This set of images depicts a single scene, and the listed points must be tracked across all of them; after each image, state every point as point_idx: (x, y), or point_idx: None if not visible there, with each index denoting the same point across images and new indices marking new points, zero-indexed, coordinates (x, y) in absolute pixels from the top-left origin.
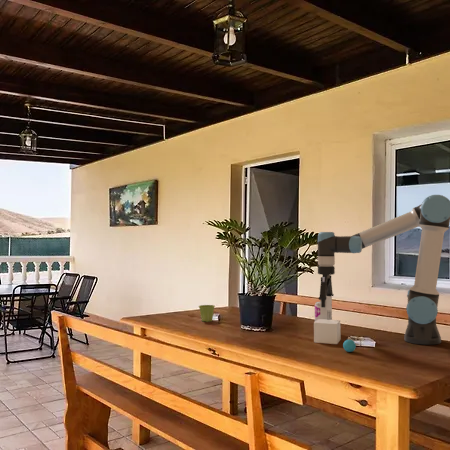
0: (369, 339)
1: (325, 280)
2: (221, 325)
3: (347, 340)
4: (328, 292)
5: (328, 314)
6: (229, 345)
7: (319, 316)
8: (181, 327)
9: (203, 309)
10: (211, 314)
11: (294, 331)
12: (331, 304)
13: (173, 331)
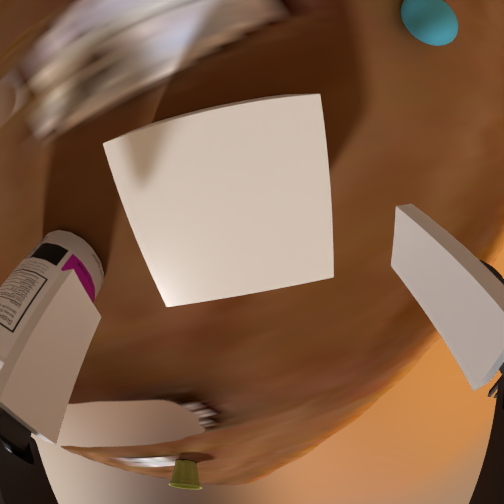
0: (76, 16)
1: None
2: (205, 449)
3: (455, 25)
4: (25, 478)
5: (27, 296)
6: (407, 371)
7: None
8: (266, 461)
9: (199, 483)
10: (184, 471)
11: (135, 351)
12: (44, 315)
13: (304, 454)
